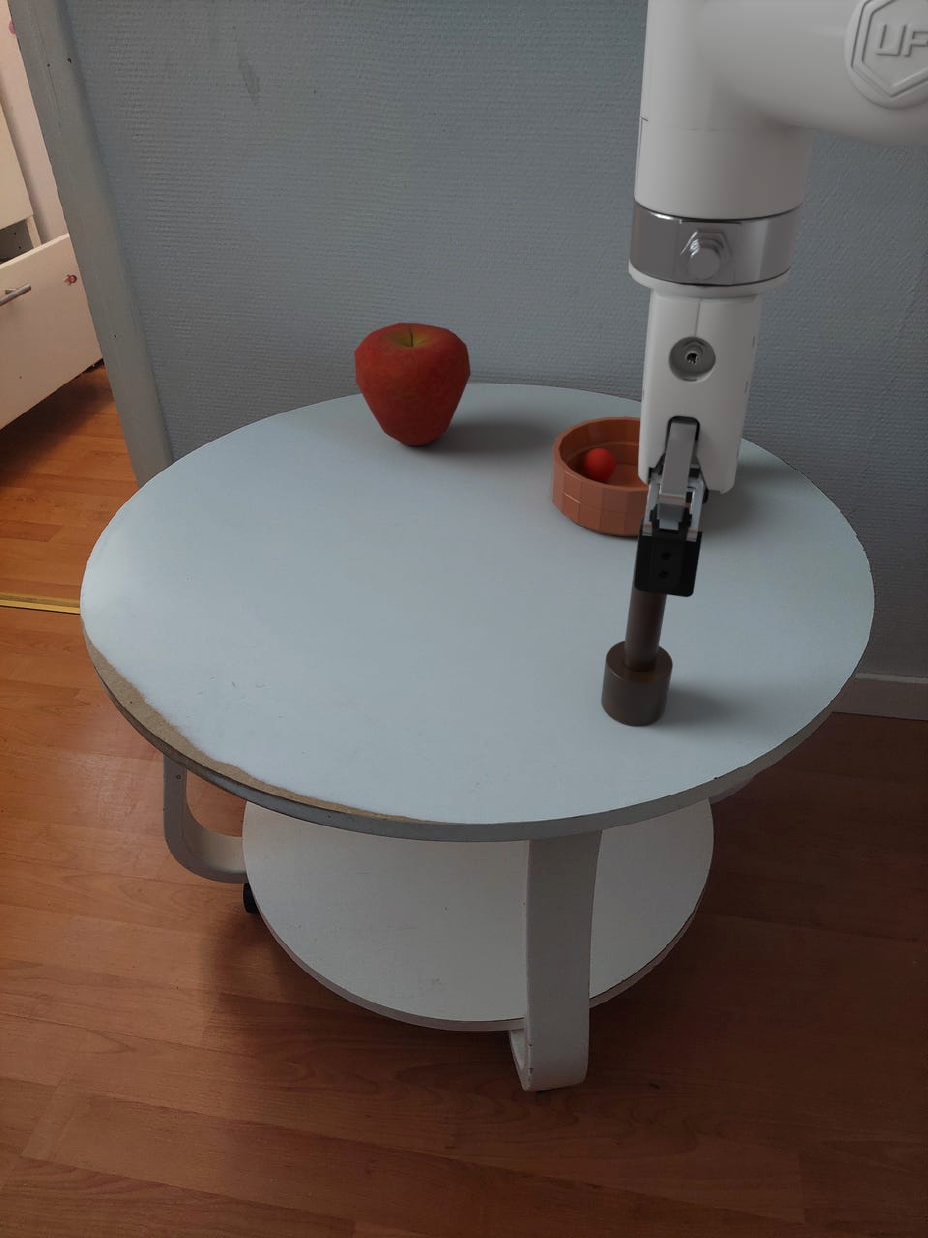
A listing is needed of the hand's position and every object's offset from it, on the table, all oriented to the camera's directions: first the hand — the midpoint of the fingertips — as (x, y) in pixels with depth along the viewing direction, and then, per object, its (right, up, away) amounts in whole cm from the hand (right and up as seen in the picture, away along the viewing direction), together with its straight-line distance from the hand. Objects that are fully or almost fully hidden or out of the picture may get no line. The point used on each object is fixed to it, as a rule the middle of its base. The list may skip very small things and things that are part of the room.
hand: (673, 542), depth 53 cm
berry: (0, +10, +30) cm, 32 cm away
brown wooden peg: (-1, -10, +9) cm, 14 cm away
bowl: (+2, +6, +29) cm, 30 cm away
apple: (-17, +14, +39) cm, 45 cm away
